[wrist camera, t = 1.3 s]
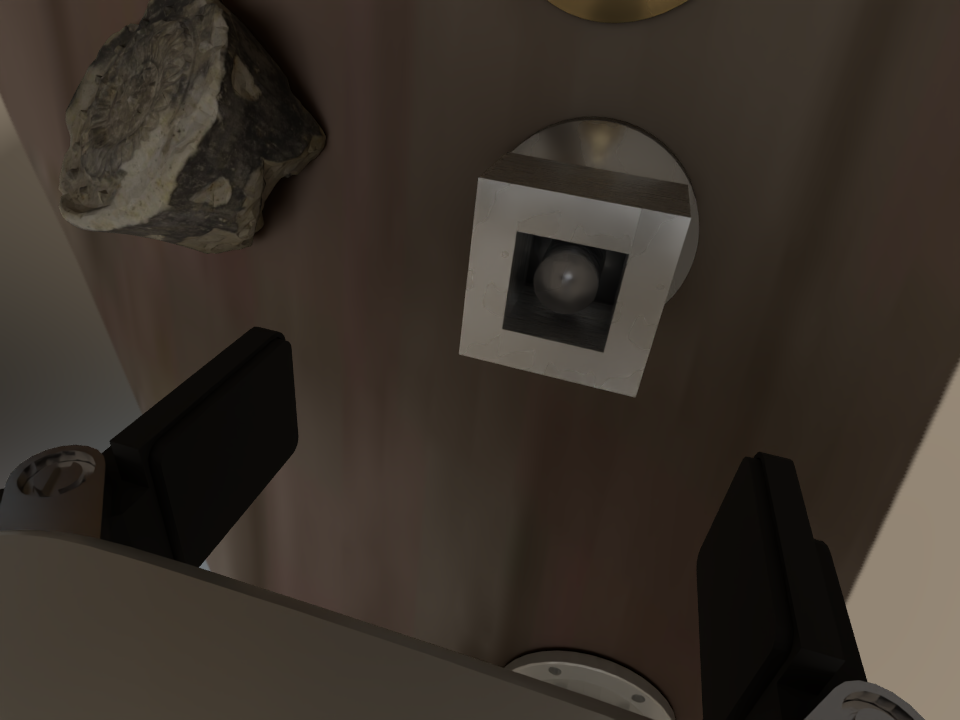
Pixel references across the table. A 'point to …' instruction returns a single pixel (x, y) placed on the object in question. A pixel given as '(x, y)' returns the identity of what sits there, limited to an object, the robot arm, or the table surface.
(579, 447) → the table surface
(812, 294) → the table surface
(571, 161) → the stand
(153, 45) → the fossil
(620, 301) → the square sleeve
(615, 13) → the hub
